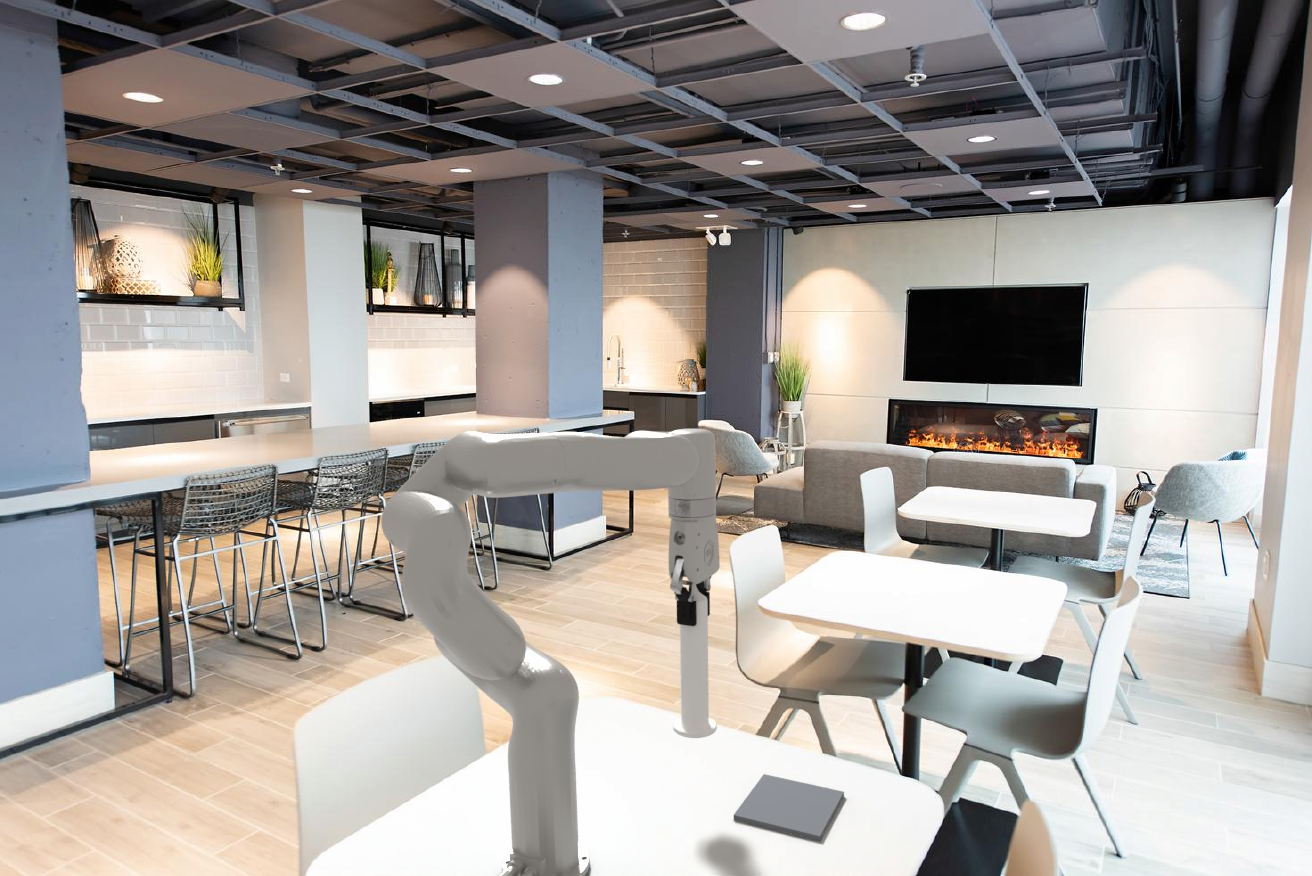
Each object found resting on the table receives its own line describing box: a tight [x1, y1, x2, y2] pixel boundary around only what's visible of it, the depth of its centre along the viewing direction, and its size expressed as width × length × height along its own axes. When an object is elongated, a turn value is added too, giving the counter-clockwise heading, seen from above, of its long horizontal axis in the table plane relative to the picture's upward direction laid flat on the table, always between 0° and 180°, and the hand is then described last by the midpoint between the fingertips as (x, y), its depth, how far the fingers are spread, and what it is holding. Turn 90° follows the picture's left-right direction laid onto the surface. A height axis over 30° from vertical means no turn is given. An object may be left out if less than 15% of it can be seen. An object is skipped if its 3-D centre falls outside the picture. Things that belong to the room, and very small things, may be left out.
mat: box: [733, 773, 845, 842], centre depth 138 cm, size 14×14×1 cm
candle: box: [672, 584, 718, 739], centre depth 137 cm, size 7×7×25 cm
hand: (693, 618), depth 137 cm, fingers closed on candle, 4 cm apart
